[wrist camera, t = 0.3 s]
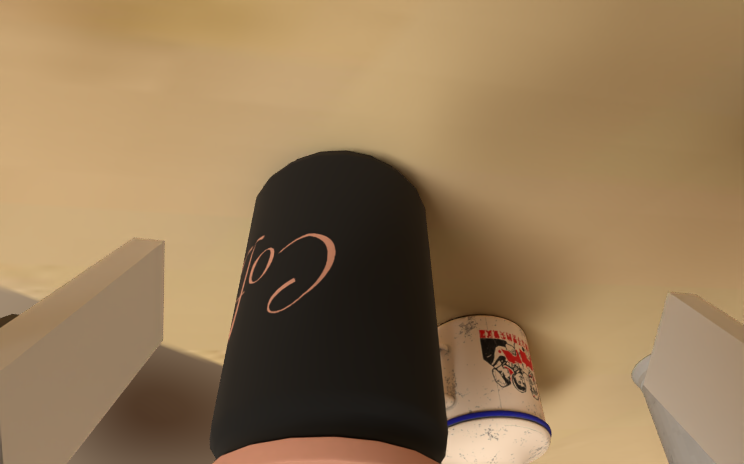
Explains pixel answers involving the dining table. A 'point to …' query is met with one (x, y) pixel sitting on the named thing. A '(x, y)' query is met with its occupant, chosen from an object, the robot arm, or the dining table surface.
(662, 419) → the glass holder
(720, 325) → the robot arm
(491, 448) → the teacup with lid
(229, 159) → the dining table surface
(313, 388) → the coffee jar
